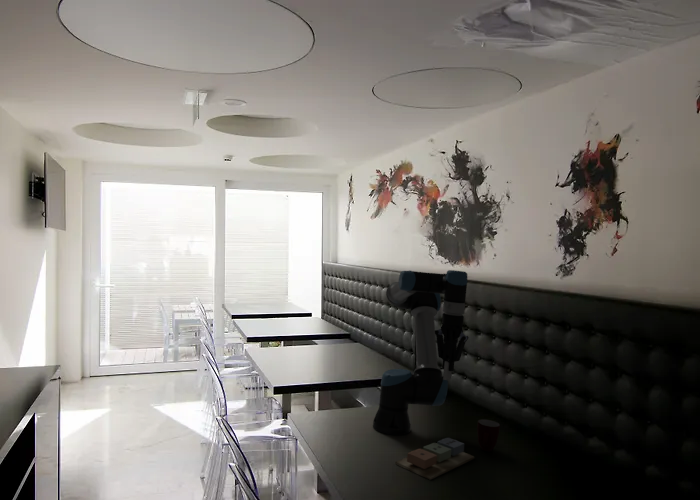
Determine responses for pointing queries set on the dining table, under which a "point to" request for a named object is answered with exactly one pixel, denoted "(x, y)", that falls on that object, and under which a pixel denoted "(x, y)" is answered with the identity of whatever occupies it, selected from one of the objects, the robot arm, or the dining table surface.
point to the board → (436, 465)
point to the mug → (487, 434)
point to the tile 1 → (421, 458)
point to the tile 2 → (438, 451)
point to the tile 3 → (452, 445)
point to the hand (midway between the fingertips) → (446, 379)
